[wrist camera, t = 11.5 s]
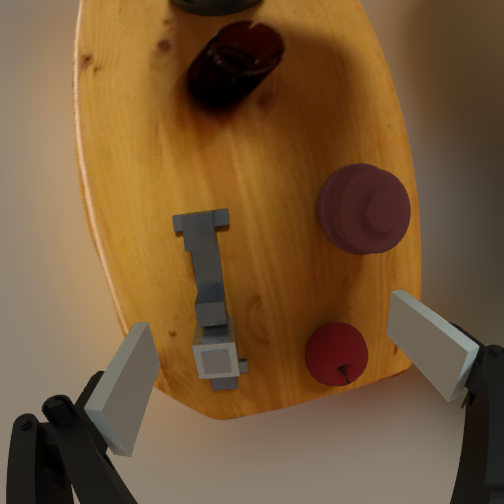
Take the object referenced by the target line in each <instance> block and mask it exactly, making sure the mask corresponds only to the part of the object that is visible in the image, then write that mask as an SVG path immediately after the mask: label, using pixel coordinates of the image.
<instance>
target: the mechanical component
mask: <svg viewBox="0 0 504 504" xmlns="http://www.w3.org/2000/svg"><path fill="white" fill-rule="evenodd" d="M317 213H318V219H319V221H320V224H321V227H322V229H323V231H324V233H325V235H326V236H327V238H328V239H329V240H330V241H331V242H332V243H333V244H334V245H335V246H337V247H338V248H340V249H342V250H344V251H346V252H348V253H351V254H355V255H366V254H370V253H375V254H376V253H383V252H386V251H388V250H390V249H392V248H393V247H394V246H396V245H397V244H398V243H399V242H400V241H401V239H402V238H403V237H404V235H405V233H406V231H407V228H408V226H409V221H410V214H411V207H410V200H409V197H408V194H407V192H406V189H405V188H404V186H403V184H402V183H401V182H400V181H399V179H398V178H396V177H395V176H394V175H393V174H391V173H389V172H387V171H384V170H381V169H379V168H377V167H375V166H372V165H369V164H364V163H358V164H352V165H347V166H344V167H342V168H340V169H338V170H336V171H335V172H334V173H333V174H332V175H331V176H330V177H329V178H328V179H327V180H326V182H325V184H324V185H323V187H322V190H321V192H320V194H319V196H318V199H317Z"/></svg>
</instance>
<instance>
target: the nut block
mask: <svg viewBox="0 0 504 504" xmlns="http://www.w3.org/2000/svg"><path fill="white" fill-rule="evenodd" d="M192 349H193V353H194V358H195V362H196V366H197V370H198V374H199V379H209V378H223V377H234V376H240V370H239V354H238V343H237V336H236V329H235V321H234V317H227V324H222V325H212V326H201V327H199V325H198V322H197V326H196V330H195V334H194V339H193V343H192Z"/></svg>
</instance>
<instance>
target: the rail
mask: <svg viewBox="0 0 504 504" xmlns="http://www.w3.org/2000/svg"><path fill="white" fill-rule="evenodd" d="M172 217H173V224H174V231H183V237H184V244H185V251H191V252H192V259H193V265H194V272H195V278H196V284H197V290H198V295H197V298H196V301H195V310H196V315H197V320H198V325H199V327H201V326H212V325H222V324H227V317H228V312H227V305H226V298H225V291H224V284H223V277H222V270H221V262H220V255H219V247H218V239H217V231H216V226H223V225H230V224H229V215H228V208H227V209H218V210H210V211H202V212H195V213H187V214H180V215H173V216H172ZM239 370H240V373H245V372H248V364H247V359H240V360H239ZM210 380H211V384H212V388H213V391H214V390H226V389H237V388H238V384H237V376H234V377H223V378H210Z"/></svg>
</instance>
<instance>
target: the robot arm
mask: <svg viewBox="0 0 504 504" xmlns="http://www.w3.org/2000/svg"><path fill="white" fill-rule="evenodd" d="M172 1H173V3H174V4H175V5H176V6H177V7H179V8H180V9H182V10H184V11H186V12H189V13H193V14H197V15H206V16H218V15H227V14H232V13H236V12H240V11H243V10H245V9H247V8H249V7H251V6H253V5H255V4H256V3H257V2H258V1H260V0H172ZM386 334H387V335H388V336H389V337H390V339H391V340H392V341H393V342H394V343H395V344H396V345H397V346H398V347H399V348H400V349H401V350H402V351H403V352H404V353H405V355H406V356H407V357H408V358H409V359H410V360H411V361H412V362H413V363H414V364H415V365H416V366H417V368H418V369H419V370H420V371H421V372H422V373H423V374H424V375H425V376H426V377H427V379H428V380H429V381H430V382H431V383H432V384H433V385H434V386H435V388H436V389H437V390H438V391H439V392H440V393H441V394H442V395H443V396H444V398H445V399H446V400H447V401H448V402H451V401H452V400H454V399H456V398H458V397H460V396H461V393H462V391H463V389H464V387H467V389H468V393H467V395H466V397H465V399H464V401H463V403H462V406H461V408H463V407H464V405H465V404H466V413H465V425H464V435H463V443H462V450H461V456H460V462H459V467H458V473H457V477H456V482H455V486H454V490H453V494H452V498H451V501H450V504H504V348H503V347H501V346H499V345H489V346H487V347H486V346H484V345H483V344H482V343H480V342H479V341H478V340H477V339H475V338H474V337H473V336H471V335H469V334H468V333H467V332H466V331H464V330H463V329H462V328H460V327H459V326H458V325H456V324H453V323H451V322H447V321H446V320H444V319H443V318H441V317H440V316H439V315H437V314H436V313H435V312H433V311H432V310H430V309H429V308H428V307H426V306H425V305H423V304H422V303H421V302H419V301H418V300H416V299H415V298H413V297H412V296H411V295H409V294H408V293H406V292H405V291H403V290H397V291H392V292H391V299H390V308H389V317H388V325H387V332H386ZM160 365H161V364H160V360H159V357H158V354H157V351H156V347H155V344H154V341H153V337H152V334H151V330H150V326H149V323H148V322H136V323H135V324H134V325H133V327H132V328H131V330H130V331H129V333H128V335H127V336H126V338H125V339H124V341H123V343H122V344H121V346H120V347H119V349H118V351H117V352H116V354H115V356H114V357H113V359H112V361H111V362H110V364H109V365H108V367H107V369H106V371H98V372H97V373H96V374H95V375H93V376H92V377H91V379H90V380H89V382H88V384H87V386H86V387H85V388H84V391H83V392H82V393H81V395H80V396H79V398H78V400H77V402H76V403H75V405H73V403H72V401H71V400H70V398H69V397H67V396H65V395H55V396H52V397H50V398H49V399H47V400H46V401H45V402H44V404H43V406H42V412H43V414H44V415H45V417H46V418H47V420H48V421H49V422H45V423H40V422H39V421H38V419H37V418H36V417H35V415H33V414H23V415H21V416H19V417H18V418H17V419H16V420H15V422H14V424H13V430H12V435H11V441H10V448H9V458H8V467H7V485H6V504H74V500H73V493H72V487H71V484H72V486H73V488H74V491H75V493H76V495H77V497H78V500H79V502H80V504H138V503H137V502H136V500H135V499H134V497H133V496H132V494H131V493H130V491H129V490H128V488H127V487H126V485H125V484H124V482H123V481H122V479H121V477H120V476H119V474H118V473H117V471H116V470H115V467H114V466H113V464H112V462H111V461H110V459H109V457H108V456H107V454H106V451H107V448H108V447H109V448H110V450H111V451H112V452H113V454H115V455H121V456H128V457H131V455H132V451H133V448H134V444H135V441H136V438H137V435H138V431H139V428H140V425H141V422H142V419H143V415H144V412H145V409H146V406H147V403H148V400H149V397H150V394H151V391H152V388H153V385H154V382H155V380H156V377H157V374H158V371H159V368H160Z"/></svg>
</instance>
